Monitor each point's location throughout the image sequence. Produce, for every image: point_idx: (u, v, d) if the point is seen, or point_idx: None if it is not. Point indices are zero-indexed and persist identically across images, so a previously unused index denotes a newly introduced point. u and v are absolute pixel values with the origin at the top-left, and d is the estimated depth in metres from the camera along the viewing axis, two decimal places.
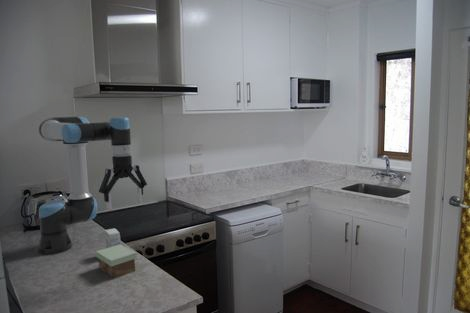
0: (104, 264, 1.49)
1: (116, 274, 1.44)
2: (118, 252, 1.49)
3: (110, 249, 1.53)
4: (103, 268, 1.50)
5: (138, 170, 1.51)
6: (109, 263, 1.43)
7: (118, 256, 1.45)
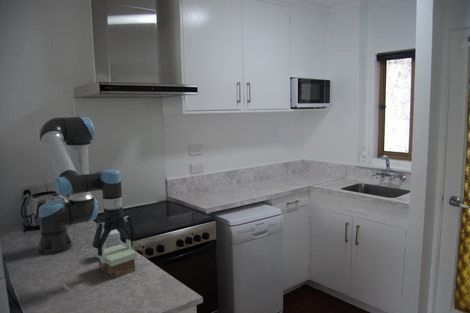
0: (104, 264, 1.49)
1: (116, 274, 1.44)
2: (118, 252, 1.49)
3: (110, 249, 1.53)
4: (103, 268, 1.50)
5: (129, 221, 1.52)
6: (109, 263, 1.43)
7: (118, 256, 1.45)
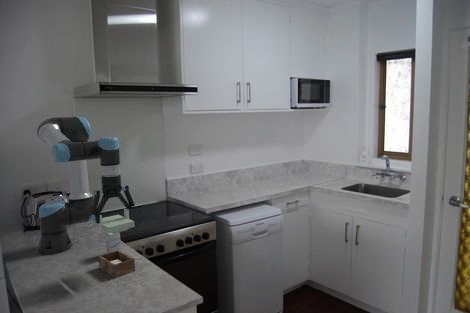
0: (104, 264, 1.49)
1: (116, 274, 1.44)
2: (116, 221, 1.48)
3: (107, 218, 1.52)
4: (103, 268, 1.50)
5: (127, 190, 1.51)
6: (107, 230, 1.41)
7: (116, 224, 1.44)
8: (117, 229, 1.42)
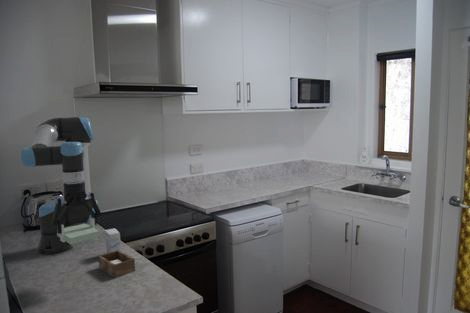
0: (104, 264, 1.49)
1: (116, 274, 1.44)
2: (80, 231, 1.39)
3: (72, 228, 1.43)
4: (103, 268, 1.50)
5: (92, 198, 1.42)
6: (68, 241, 1.33)
7: (79, 234, 1.35)
8: (80, 240, 1.34)
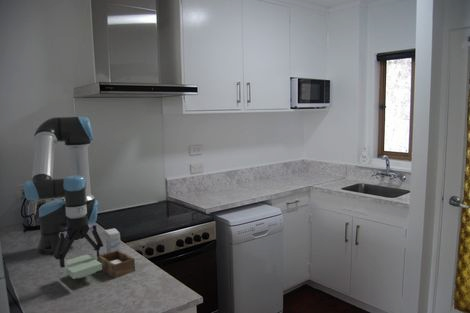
0: (104, 264, 1.49)
1: (116, 274, 1.44)
2: (82, 263, 1.41)
3: (75, 260, 1.45)
4: (103, 268, 1.50)
5: (95, 230, 1.44)
6: (71, 275, 1.34)
7: (81, 268, 1.37)
8: (82, 273, 1.36)
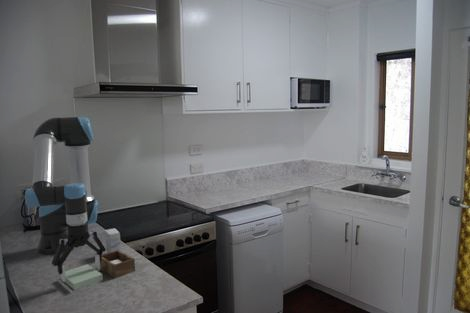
0: (104, 264, 1.49)
1: (116, 274, 1.44)
2: (83, 274, 1.41)
3: (75, 270, 1.45)
4: (103, 268, 1.50)
5: (96, 236, 1.44)
6: (72, 286, 1.35)
7: (82, 279, 1.38)
8: (83, 285, 1.36)
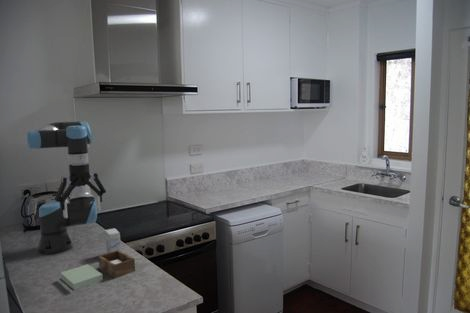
0: (104, 264, 1.49)
1: (116, 274, 1.44)
2: (83, 274, 1.41)
3: (75, 270, 1.45)
4: (103, 268, 1.50)
5: (96, 178, 1.51)
6: (72, 286, 1.35)
7: (82, 279, 1.38)
8: (83, 284, 1.36)
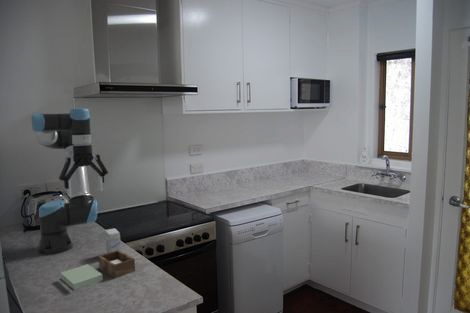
0: (104, 264, 1.49)
1: (116, 274, 1.44)
2: (83, 274, 1.41)
3: (75, 270, 1.45)
4: (103, 268, 1.50)
5: (99, 159, 1.58)
6: (72, 286, 1.35)
7: (82, 279, 1.38)
8: (83, 285, 1.36)
